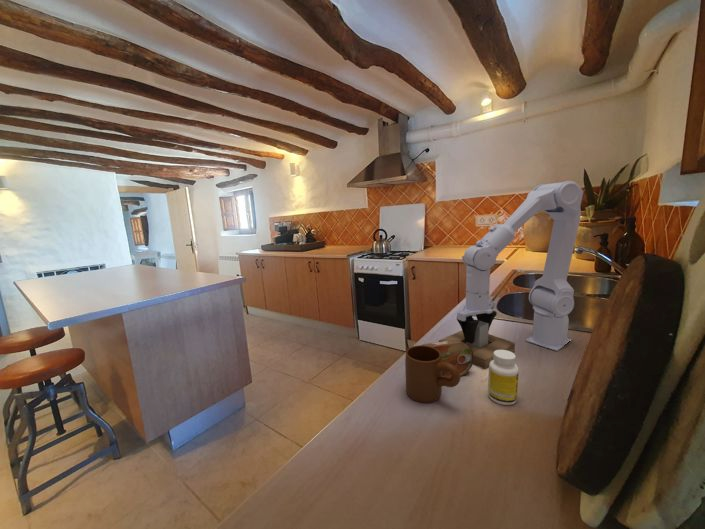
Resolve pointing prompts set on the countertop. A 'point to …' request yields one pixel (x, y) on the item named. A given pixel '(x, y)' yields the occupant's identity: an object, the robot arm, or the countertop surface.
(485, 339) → the peg
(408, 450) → the countertop surface
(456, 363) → the tin
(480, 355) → the collar
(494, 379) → the supplement bottle
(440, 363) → the mug
